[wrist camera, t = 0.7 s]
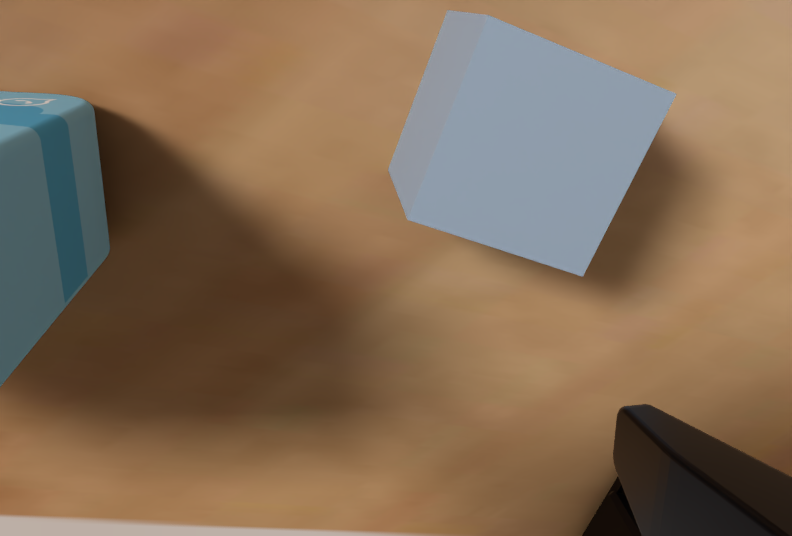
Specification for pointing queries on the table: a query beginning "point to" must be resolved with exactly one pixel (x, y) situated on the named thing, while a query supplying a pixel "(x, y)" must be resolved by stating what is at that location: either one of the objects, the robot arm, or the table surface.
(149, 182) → the table surface
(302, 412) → the table surface
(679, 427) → the robot arm
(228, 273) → the table surface
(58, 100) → the data package
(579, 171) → the blue cube
